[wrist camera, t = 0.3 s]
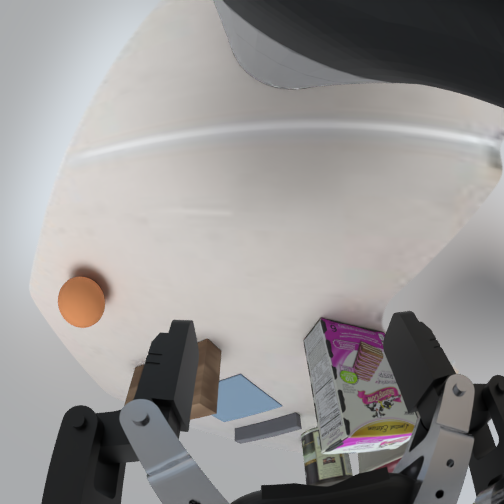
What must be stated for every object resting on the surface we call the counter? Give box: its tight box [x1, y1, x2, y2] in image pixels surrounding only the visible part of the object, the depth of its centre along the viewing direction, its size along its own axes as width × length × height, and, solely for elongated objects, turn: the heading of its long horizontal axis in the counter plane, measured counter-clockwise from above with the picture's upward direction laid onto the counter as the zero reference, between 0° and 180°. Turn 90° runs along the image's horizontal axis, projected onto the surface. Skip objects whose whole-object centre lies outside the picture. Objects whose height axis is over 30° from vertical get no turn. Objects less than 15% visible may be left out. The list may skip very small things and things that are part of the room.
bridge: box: [124, 339, 221, 419], centre depth 34 cm, size 3×15×10 cm, turn 123°
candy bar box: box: [304, 318, 418, 454], centre depth 29 cm, size 11×5×16 cm, turn 69°
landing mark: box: [212, 374, 282, 422], centre depth 44 cm, size 13×13×1 cm
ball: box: [58, 277, 105, 328], centre depth 29 cm, size 6×6×6 cm
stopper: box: [235, 413, 302, 443], centre depth 48 cm, size 2×14×3 cm, turn 123°
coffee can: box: [301, 427, 353, 486], centre depth 48 cm, size 10×10×14 cm
